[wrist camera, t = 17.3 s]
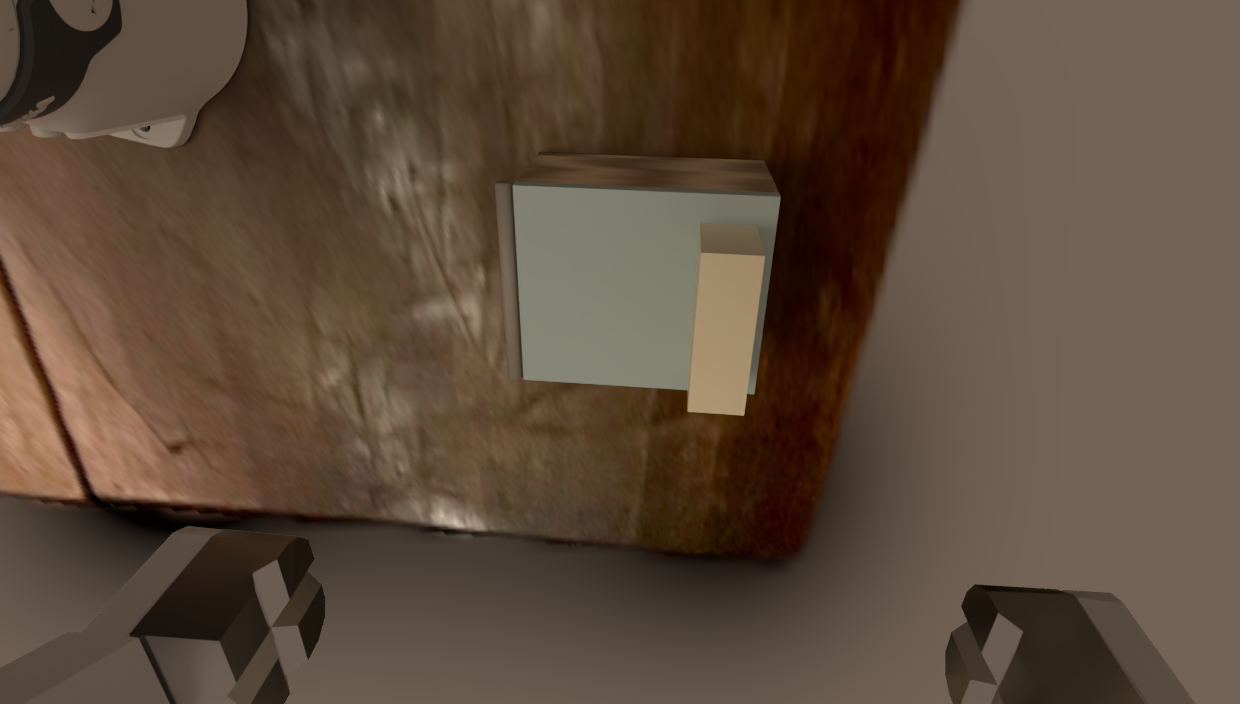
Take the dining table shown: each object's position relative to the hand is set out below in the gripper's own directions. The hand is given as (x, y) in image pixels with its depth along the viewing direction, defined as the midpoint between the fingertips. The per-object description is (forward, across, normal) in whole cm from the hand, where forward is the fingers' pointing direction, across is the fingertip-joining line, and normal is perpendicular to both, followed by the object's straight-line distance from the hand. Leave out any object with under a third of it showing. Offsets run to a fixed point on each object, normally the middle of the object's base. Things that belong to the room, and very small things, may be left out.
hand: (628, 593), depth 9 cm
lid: (+30, +2, +9) cm, 31 cm away
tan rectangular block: (+29, -3, +9) cm, 31 cm away
